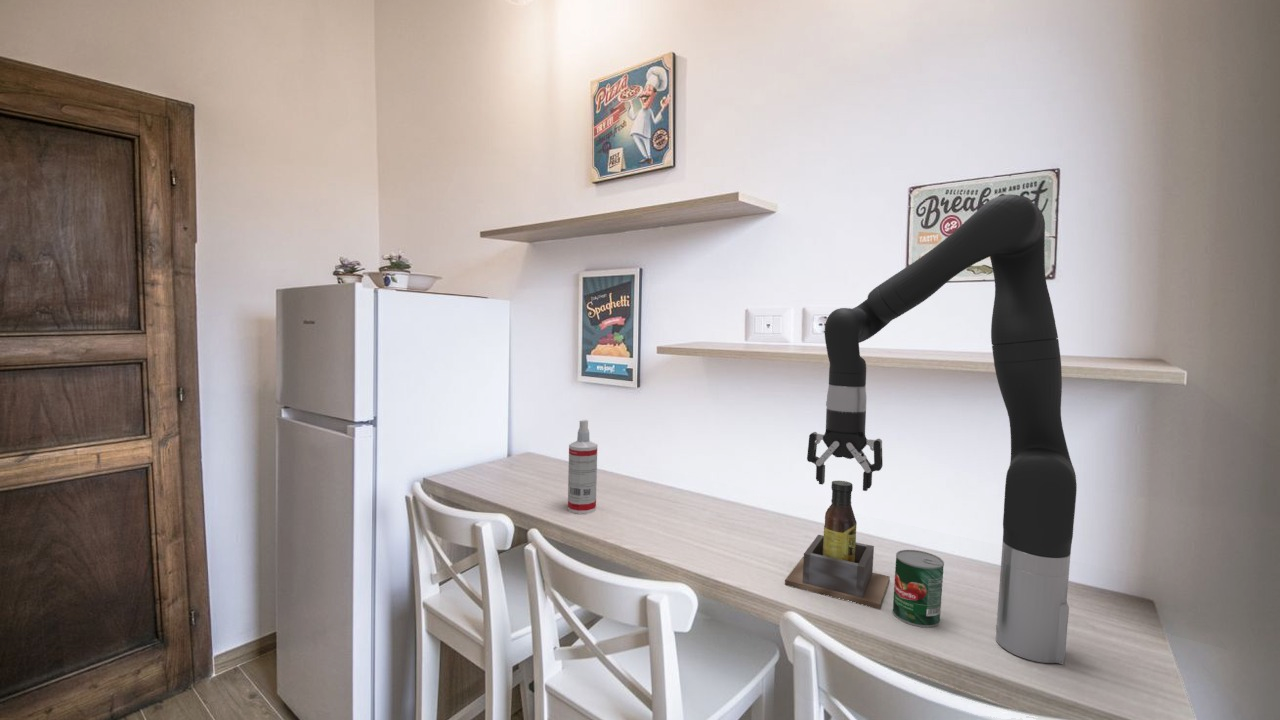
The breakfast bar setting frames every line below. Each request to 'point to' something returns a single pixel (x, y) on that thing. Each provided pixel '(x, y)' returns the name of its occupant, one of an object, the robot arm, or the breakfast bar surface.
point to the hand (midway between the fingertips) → (843, 486)
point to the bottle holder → (840, 575)
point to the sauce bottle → (840, 524)
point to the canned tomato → (918, 588)
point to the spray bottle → (582, 473)
